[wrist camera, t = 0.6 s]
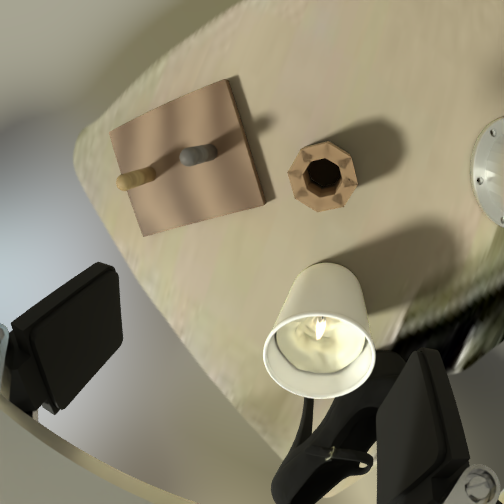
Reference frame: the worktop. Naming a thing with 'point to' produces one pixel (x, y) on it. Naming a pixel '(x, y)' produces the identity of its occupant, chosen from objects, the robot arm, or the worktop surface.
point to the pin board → (195, 180)
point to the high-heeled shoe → (336, 438)
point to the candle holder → (321, 335)
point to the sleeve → (313, 191)
